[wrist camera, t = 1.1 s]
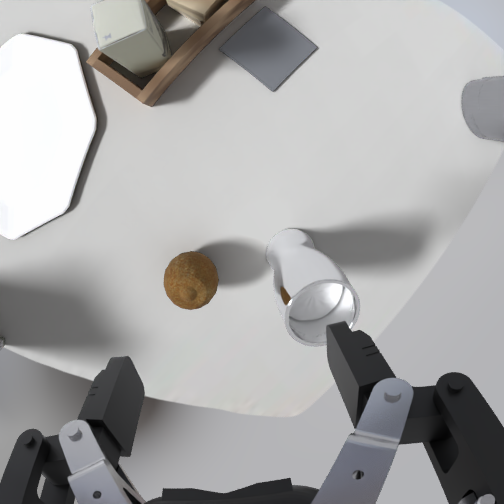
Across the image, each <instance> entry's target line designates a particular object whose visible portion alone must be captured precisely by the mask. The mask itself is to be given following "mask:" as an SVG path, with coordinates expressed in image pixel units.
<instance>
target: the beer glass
mask: <svg viewBox="0 0 504 504" xmlns="http://www.w3.org/2000/svg"><path fill="white" fill-rule="evenodd" d="M266 257H267V261H268V263H269V265H270V266H271V268H272V269H273V270H274V278H273V288H274V296H275V300H276V304H277V307H278V310H279V312H280V315H281V317H282V319H283V321H284V323H285V326H286V329H287V331H288V333H289V334H290V336H291V337H292V338H293V339H294V340H296V341H297V342H299V343H301V344H304V345H308V346H324V345H327V338H326V326H327V325H329V324H333V323H338V322H342V321H346V323H347V324H348V326H349V328H350V329H352V328H353V326H354V325H355V323H356V321H357V319H358V316H359V312H360V301H359V297H358V295H357V293H356V291H355V290H354V289H353V287H352V285H351V283H350V281H349V280H348V278H347V277H346V275H345V274H344V272H343V271H342V270H341V268H340V267H339V266H338V265H337V264H336V263H335V262H334V261H333V260H332V259H331V258H329V257H328V256H327V255H325V254H324V253H322V252H320V251H319V250H317V249H315V248H314V244H313V241H312V239H311V238H310V237H309V235H308V234H306V233H305V232H303V231H301V230H298V229H285V230H282V231H280V232H278V233H277V234H276V235H274V236H273V237H272V239H271V240H270V242H269V244H268V246H267V250H266Z"/></svg>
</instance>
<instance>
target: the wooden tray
mask: <svg viewBox="0 0 504 504" xmlns="http://www.w3.org/2000/svg"><path fill="white" fill-rule="evenodd" d="M145 1H146V3H147V4H148V6H149V7H150V9H151V10H152V12H153V13H154V15H155V14H156V13H157V12H158V11H159V10H160V9H161V8H162V7H163V6H164V5H165V4H166V3H167V1H166V0H145ZM254 1H255V0H229V1H228V2H227V3H225V4H224V5H223V6H222V7H221V8H220V9H219V10H218V11H217V12H215V13H214V14H213V15H212V16H211V17H210V18H209V19H208V20H207V21H206V22H205V23H204V24H203V25H202V26H201V27H200V28H199V29H198V30H197V31H196V32H195V33H194V34H193V35H192V36H191V37H190V38H189V39H188V40H187V41H186V42H185V43H184V44H183V45H182V46H181V47H180V48H179V49H178V50H177V51H176V52H175V53H174V54H173V55H172V57H171V58H170V59H169V60H168V61H167V62H166V63H165V64H164V65H163V67H162V68H161V69H160V70H159V71H158V72H157V73H156V75H155V76H154V77H153V78H152V79H151V80H150V82H149V83H148V84H147V85H146V86H145V88H144V89H142V88H140V87H139V86H138V85H136V84H135V83H133V82H132V81H131V80H129V79H128V78H126V77H125V76H124V75H122V74H121V73H119V72H118V71H117V70H115V69H114V68H112V67H111V66H110V65H111V63H112V62H113V61H114V60H113V59H112V58H110V57H109V56H107V55H106V54H104V53H103V52H101V51H99V50H98V47H97V48H96V50H95V51H94V52H93V54H92V55H91V56H90V57H89V59H88V60H87V61H86V62H87V63H88V64H89V65H91V66H92V67H94V68H95V69H96V70H98V71H99V72H101V73H102V74H103V75H105V76H106V77H108V78H109V79H110V80H112V81H113V82H115V83H116V84H117V85H119V86H120V87H121V88H123V89H124V90H125V91H127V92H128V93H130V94H131V95H132V96H134V97H135V98H136V99H138V100H139V101H140V102H142V103H143V104H146V105H148V106H151V107H152V106H153V105H154V104H155V102H156V101H157V100H158V99H159V98H160V96H161V95H162V94H163V93H164V92H165V90H166V89H167V88H168V87H169V86H170V85H171V83H172V82H173V81H174V80H175V79H176V78H177V77H178V75H179V74H180V73H181V72H182V71H183V70H184V69H185V68H186V67H187V65H188V64H189V63H190V62H191V61H192V60H193V59H194V58H195V57H196V56H197V55H198V54H199V53H200V52H201V51H202V50H203V49H204V48H205V47H206V46H207V45H208V44H209V43H210V42H211V41H212V40H213V39H214V38H215V37H216V36H217V35H218V34H219V33H220V32H221V31H222V30H223V29H224V28H225V27H226V26H227V25H228V24H229V23H230V22H231V21H232V20H234V19H235V18H236V17H237V16H238V15H239V14H240V13H241V12H242V11H244V10H245V9H246V8H247V7H248V6H249V5H250V4H252V3H253V2H254Z"/></svg>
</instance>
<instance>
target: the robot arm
mask: <svg viewBox="0 0 504 504" xmlns="http://www.w3.org/2000/svg"><path fill="white" fill-rule="evenodd" d="M462 110H463V115H464V118H465V120H466V123H467V125H468V127H469V128H470V129H471V131H472V132H473V133H474V134H475V135H476V136H478V137H480V138H483V139H491V140H498V141H504V76H495V77H484V78H482V79H480V80H473V81H470V82H469V83H468V84H467V85H466V86H465V88H464V90H463V94H462ZM326 338H327V357H328V363H329V367H330V370H331V372H332V374H333V377H334V379H335V382H336V384H337V386H338V389H339V391H340V394H341V396H342V399H343V401H344V403H345V406H346V408H347V411H348V413H349V416H350V418H351V421H352V423H353V426H354V428H355V431H354V433H353V434H352V433H351V434H350V435H349V436H348V438H347V440H346V442H345V444H344V446H343V448H342V450H341V451H340V454H339V455H338V457H337V459H336V461H335V463H334V465H333V467H332V469H331V470H330V472H329V474H328V476H327V477H326V479H325V481H324V483H323V484H322V486H321V488H320V490H319V489H316V488H312V487H307V486H298V485H292V483H291V478H287V479H281V480H275V481H269V482H262V483H256V484H254V485H251V486H248V487H245V488H242V489H238V490H235V491H232V492H229V493H217V492H210V491H204V490H199V489H192V488H186V489H164V488H163V493H162V497H158V498H155V499H152V500H150V501H148V502H146V501H145V500H144V499H143V498H142V497H141V495H140V494H139V492H138V491H137V489H136V488H135V487H134V485H133V483H132V482H131V480H130V479H129V477H128V476H127V474H126V472H125V471H124V469H123V468H122V466H121V465H120V463H119V457H120V456H125V457H130V455H131V451H132V446H133V441H134V437H135V433H136V429H137V424H138V420H139V416H140V412H141V407H142V404H143V400H144V394H145V392H144V386H143V383H142V381H141V379H140V377H139V375H138V373H137V371H136V369H135V366H134V364H133V362H132V360H131V359H130V357H128V356H125V357H113V358H111V359H110V360H109V363H108V365H107V367H106V370H102V371H101V372H100V373H99V374H98V375H97V376H96V377H95V379H94V381H93V383H92V386H91V389H90V391H89V393H88V396H87V397H86V400H85V402H84V404H83V407H82V410H81V412H80V414H79V416H78V419H77V420H74V421H71V422H69V423H67V424H66V425H64V427H63V428H62V429H61V431H60V433H59V435H55V436H49V437H44V436H43V435H42V433H41V432H40V431H38V430H36V429H29V430H26V431H25V432H23V433H22V434H21V435H20V436H19V438H18V439H17V442H16V444H15V446H14V449H13V451H12V454H11V456H10V459H9V461H8V464H7V466H6V469H5V472H4V474H3V477H2V480H1V483H0V504H74V500H75V498H76V500H77V502H78V504H375V503H376V501H377V499H378V496H379V494H380V492H381V490H382V487H383V485H384V482H385V480H386V477H387V475H388V472H389V470H390V466H391V465H392V462H393V459H394V457H395V453H396V451H397V448H398V445H399V444H411V443H421V442H423V444H424V446H425V449H426V451H427V453H428V456H429V458H430V460H431V462H432V464H433V467H434V469H435V471H436V474H437V476H438V478H439V480H440V483H441V486H442V488H443V490H444V493H445V495H446V497H447V500H448V502H449V504H504V427H503V426H502V424H501V423H500V421H499V420H498V418H497V417H496V415H495V414H494V412H493V411H492V409H491V408H490V406H489V405H488V403H487V402H486V400H485V399H484V397H483V396H482V395H481V393H480V392H479V390H478V389H477V388H476V386H475V385H474V384H473V382H472V381H471V379H470V378H469V377H467V376H466V375H464V374H462V373H456V372H452V373H447V374H445V375H443V376H441V377H440V378H439V380H438V382H437V384H436V385H435V386H426V387H412V386H411V385H410V384H409V383H408V382H407V381H405V380H402V379H399V378H396V376H395V375H394V373H393V371H392V370H391V369H390V367H389V365H388V364H387V362H386V360H385V359H384V357H383V356H382V354H381V353H380V352H379V350H378V348H377V346H375V343H374V342H373V340H372V339H371V337H370V336H369V335H367V334H366V333H364V332H362V331H361V330H358V331H354V332H352V331H351V329H350V328H349V326H348V324H347V323H346V321H342V322H338V323H333V324H329V325H327V326H326ZM41 474H42V475H43V476H44V477H45V478H46V479H45V483H44V486H43V490H42V494H41V497H40V499H39V497H38V494H37V487H38V484H39V480H40V477H41Z"/></svg>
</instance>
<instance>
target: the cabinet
mask: <svg viewBox="0 0 504 504" xmlns="http://www.w3.org/2000/svg"><path fill="white" fill-rule="evenodd" d="M4 345H5V338H3V337H1V336H0V350H1V349H2V348H3V346H4Z"/></svg>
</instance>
